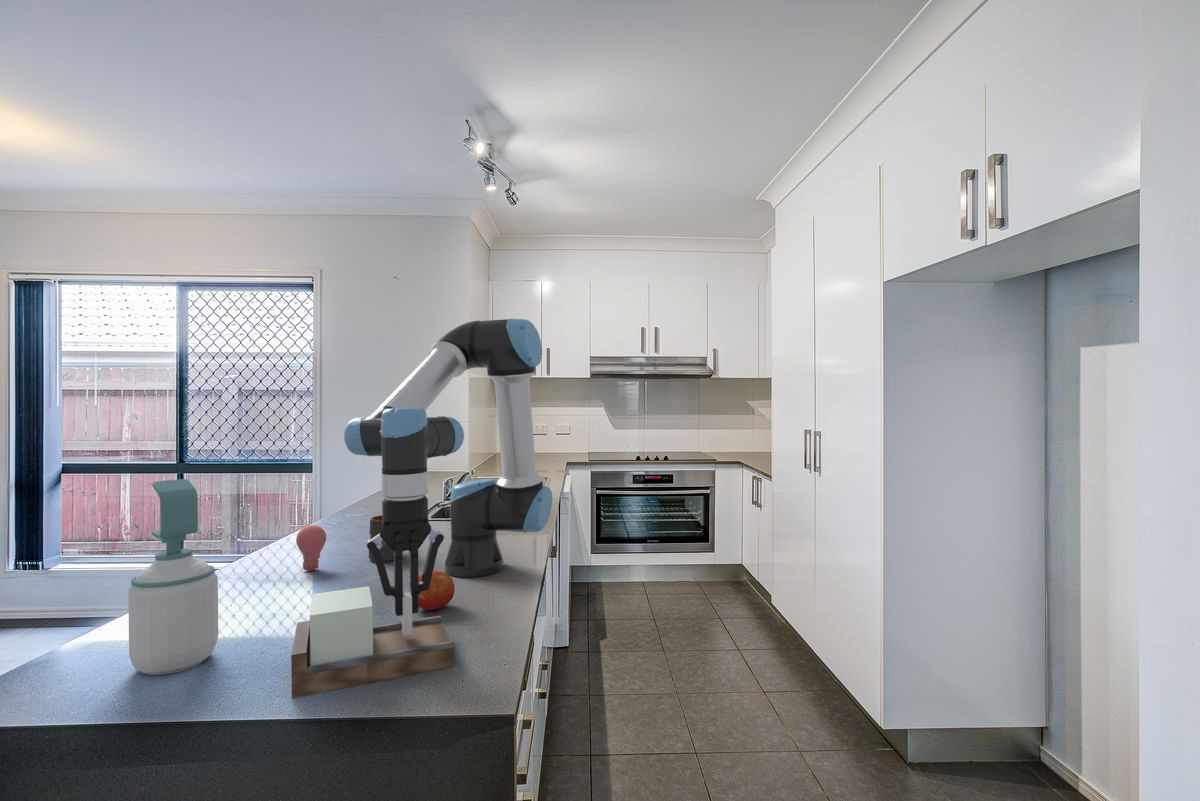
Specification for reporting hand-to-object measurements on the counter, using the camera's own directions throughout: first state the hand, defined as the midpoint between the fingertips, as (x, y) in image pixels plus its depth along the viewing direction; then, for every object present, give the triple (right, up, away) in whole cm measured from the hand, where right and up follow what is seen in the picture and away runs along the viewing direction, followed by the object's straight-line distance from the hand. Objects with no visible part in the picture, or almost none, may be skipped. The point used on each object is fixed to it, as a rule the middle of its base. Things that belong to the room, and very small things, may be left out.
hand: (407, 632), depth 100 cm
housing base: (-5, -4, -2) cm, 7 cm away
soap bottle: (-39, -5, -2) cm, 39 cm away
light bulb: (-43, -5, +52) cm, 67 cm away
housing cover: (-9, -1, -4) cm, 10 cm away
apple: (-2, -4, +23) cm, 24 cm away
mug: (-27, -5, +64) cm, 70 cm away
